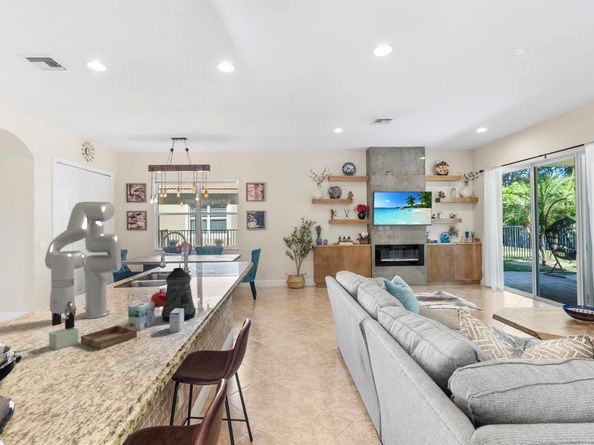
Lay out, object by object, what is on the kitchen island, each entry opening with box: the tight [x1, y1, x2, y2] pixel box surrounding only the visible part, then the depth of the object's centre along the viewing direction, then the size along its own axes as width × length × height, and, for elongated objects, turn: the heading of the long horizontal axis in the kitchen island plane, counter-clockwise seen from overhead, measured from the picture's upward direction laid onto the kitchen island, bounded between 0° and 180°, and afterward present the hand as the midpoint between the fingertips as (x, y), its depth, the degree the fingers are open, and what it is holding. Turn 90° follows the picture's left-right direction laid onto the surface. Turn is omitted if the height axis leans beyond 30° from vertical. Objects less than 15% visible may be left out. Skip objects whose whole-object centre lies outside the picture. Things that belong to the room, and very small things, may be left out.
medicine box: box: [169, 308, 185, 333], centre depth 153 cm, size 8×4×9 cm, turn 5°
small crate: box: [48, 326, 79, 351], centre depth 134 cm, size 6×8×6 cm
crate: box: [80, 324, 138, 351], centre depth 140 cm, size 14×16×3 cm
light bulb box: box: [127, 300, 155, 331], centre depth 157 cm, size 11×7×11 cm, turn 168°
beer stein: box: [161, 267, 197, 323], centre depth 171 cm, size 16×19×25 cm
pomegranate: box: [150, 288, 166, 307], centre depth 196 cm, size 10×10×9 cm
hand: (63, 326), depth 134 cm, fingers open, 9 cm apart
